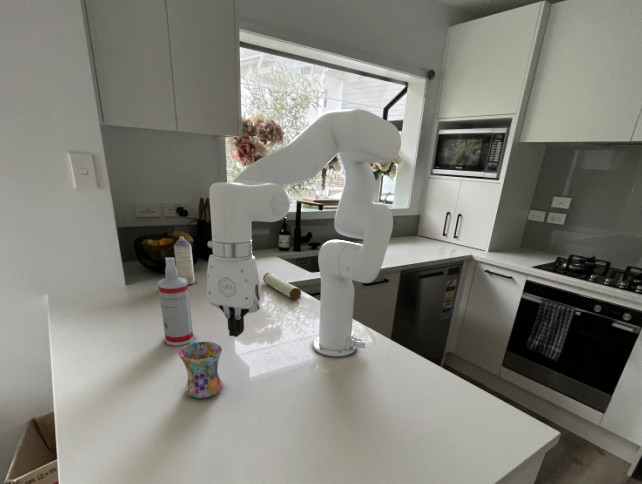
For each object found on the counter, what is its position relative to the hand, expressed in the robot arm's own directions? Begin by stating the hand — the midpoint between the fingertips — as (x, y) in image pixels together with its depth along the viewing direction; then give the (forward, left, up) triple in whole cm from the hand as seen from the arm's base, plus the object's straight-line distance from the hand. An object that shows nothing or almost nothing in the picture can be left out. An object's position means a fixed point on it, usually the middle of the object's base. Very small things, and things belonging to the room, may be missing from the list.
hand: (236, 333), depth 81 cm
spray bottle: (+31, -20, -16) cm, 40 cm away
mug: (+10, 0, -16) cm, 19 cm away
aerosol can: (+63, -69, -16) cm, 95 cm away
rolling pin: (+20, -75, -16) cm, 79 cm away
